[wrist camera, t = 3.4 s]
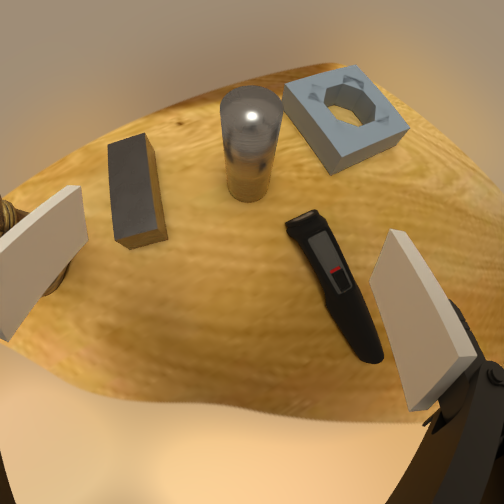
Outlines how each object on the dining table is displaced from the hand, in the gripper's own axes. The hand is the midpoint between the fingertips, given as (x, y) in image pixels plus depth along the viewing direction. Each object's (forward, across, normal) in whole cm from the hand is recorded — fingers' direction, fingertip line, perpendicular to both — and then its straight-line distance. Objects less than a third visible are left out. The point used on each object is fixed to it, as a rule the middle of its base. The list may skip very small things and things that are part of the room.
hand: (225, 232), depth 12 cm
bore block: (+24, +9, +2) cm, 26 cm away
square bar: (+16, -10, -7) cm, 20 cm away
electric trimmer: (+12, +10, -11) cm, 19 cm away
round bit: (+18, 0, -4) cm, 18 cm away
